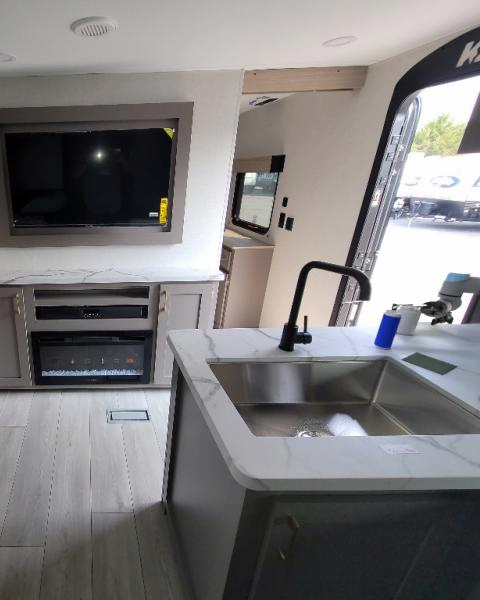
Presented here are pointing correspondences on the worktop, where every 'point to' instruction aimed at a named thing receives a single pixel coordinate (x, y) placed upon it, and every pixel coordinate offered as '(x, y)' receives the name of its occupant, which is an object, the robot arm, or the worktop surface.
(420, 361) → the mat
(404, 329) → the can
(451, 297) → the robot arm
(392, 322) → the beverage can
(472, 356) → the worktop surface
